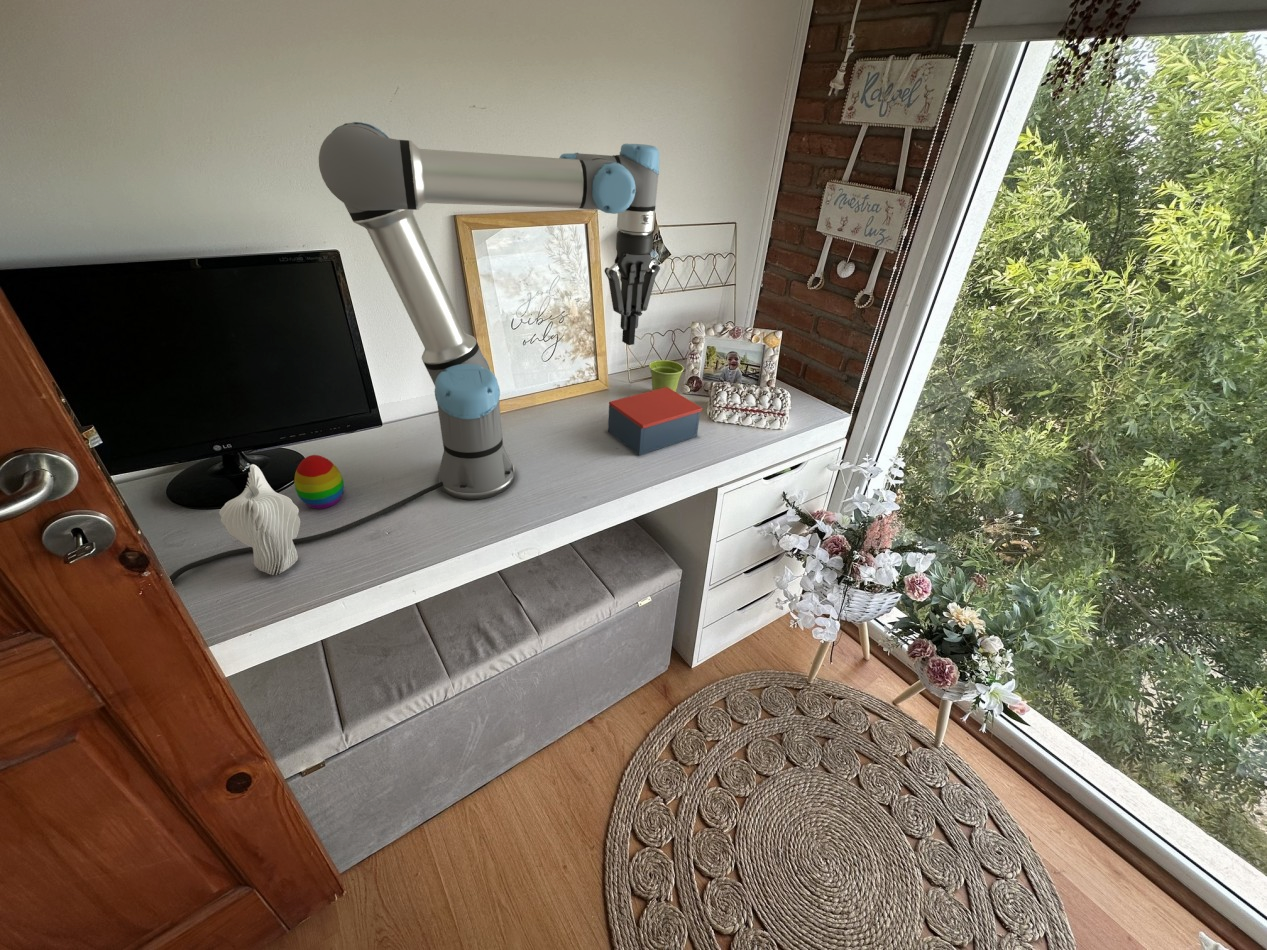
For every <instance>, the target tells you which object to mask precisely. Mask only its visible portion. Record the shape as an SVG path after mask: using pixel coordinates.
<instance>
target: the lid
mask: <svg viewBox="0 0 1267 950" xmlns="http://www.w3.org/2000/svg"><path fill="white" fill-rule="evenodd" d="M609 405H610V406H612V407H613V408H614V409H616V410H617V411H619V412H620V413H621V414H623V415H624V416H626V417H627V418H628V419H630V420H631V421H633V422H634V423H635V424H637V425H638V426H640V427H641V428H642V429H644V428H647V427H650V426H654V425H657V424H660V423H664V422H667V421H670V420H674V419H677V418H680V417H684V416H687V415H690V414H694V413H697V412H700V413H701V412H703V407H702V406H700V405H698V404H696V403H695V402H693V401H691V400H690V399H688V398H686V397H684V396H683V395H682V394H680V393H679V392H677V391H676V392H675V391H673V390H671V389H670V388H668V387H664V388H660V389H656V390H653V391H652V390H649V391H645V392H642V393H637V394H633V395H630V396H626V397H622V398H618V399H614V400H610V401H608V406H609Z"/></svg>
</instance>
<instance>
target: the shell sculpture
mask: <svg viewBox="0 0 1267 950" xmlns="http://www.w3.org/2000/svg"><path fill="white" fill-rule="evenodd" d="M247 474H248V477H247V481H246V485H245V488H244V490H243V491H242V492H241V493H240V494H239V495H238V496H236V497H234V498H232V499H230V500H228V501H227V502H225V503H224V505H223V506H222V507H221V509H220V510H219V511H218V514H219V516H220V517H221V518H220V523H221V524H222V525H223V527H225V529H226V531H227V533H228V534H229V535H231V536H232V537H233V538H234V539H236V540H238V541H239V542H241V543H242V544H244V545H246V546H247V547H252V548H253V552H252V553H253V554H252V555H253V564H254V567H255V568H256V569H257V570H258V571H260V572H263V573H266V574H267V575H270V576H271V575H272V576H274V575H275V576H277V575H278V574H279V575H281V574H282V573H284V572H286V571H287V570H288V569H290V568H291V567H293V565H294V564H296V562H297V561H298V558H299V556H298V552H297V549H296V546H295V544H294V543H293V541H292V539H297V536H298V534H299V531H300V528H301V527H300V526H301V519H300V516H299V511H300V509H299V508H298V506H297V505H296V504H295V503H294V502H293V500H292V499H291V498H290V497H288V496H286V495H284V494H281V493H278V492H276V491H275V490H274V489H273V488H272V487H271V485H270V484H269V483H268V481H267V479H266V477H265V475H264V473H263V471H262V470H261V469H260V467H259V466H257V465H256V464H254V463H251V464H250V465H249V471H248V473H247Z"/></svg>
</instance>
